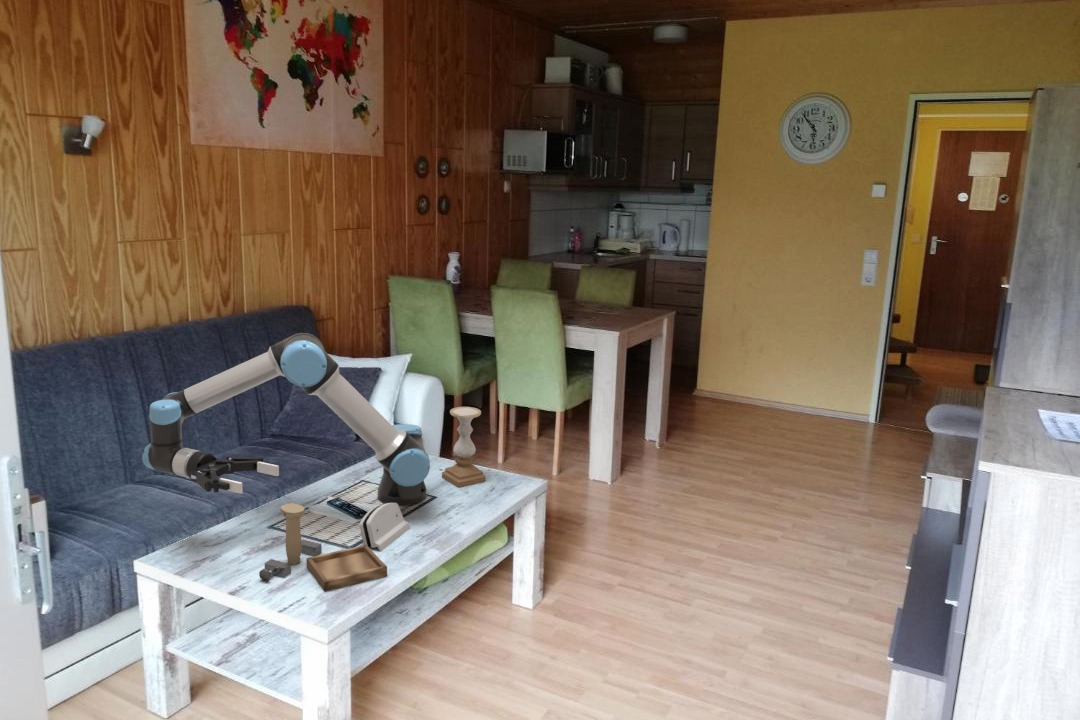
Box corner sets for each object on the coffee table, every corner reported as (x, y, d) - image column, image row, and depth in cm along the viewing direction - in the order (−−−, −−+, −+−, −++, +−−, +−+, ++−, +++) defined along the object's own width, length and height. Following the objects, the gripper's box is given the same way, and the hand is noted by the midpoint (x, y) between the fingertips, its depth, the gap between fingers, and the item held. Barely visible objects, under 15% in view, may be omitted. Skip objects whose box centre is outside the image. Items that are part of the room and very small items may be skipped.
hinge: (380, 552, 212) (369, 517, 211) (365, 554, 214) (354, 519, 213) (410, 527, 228) (400, 495, 227) (397, 530, 230) (386, 497, 229)
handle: (293, 569, 201) (292, 514, 198) (278, 561, 205) (276, 507, 201) (309, 562, 205) (308, 508, 201) (294, 555, 209) (292, 501, 205)
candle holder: (441, 477, 267) (442, 408, 262) (468, 471, 273) (470, 404, 268) (458, 488, 258) (460, 417, 253) (486, 481, 265) (488, 412, 260)
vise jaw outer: (271, 568, 201) (271, 556, 201) (290, 573, 199) (290, 561, 199) (254, 578, 196) (254, 567, 195) (274, 584, 194) (273, 572, 193)
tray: (366, 553, 211) (366, 544, 211) (387, 576, 200) (387, 566, 200) (306, 567, 203) (306, 558, 202) (324, 591, 191) (324, 582, 191)
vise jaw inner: (302, 548, 213) (302, 539, 212) (321, 552, 211) (321, 544, 210) (296, 551, 210) (296, 543, 210) (315, 556, 208) (315, 547, 208)
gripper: (230, 463, 223) (292, 477, 216) (158, 494, 200) (225, 510, 193) (229, 438, 221) (291, 451, 214) (157, 466, 199) (224, 481, 191)
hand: (260, 479), depth 203 cm, fingers open, 13 cm apart
